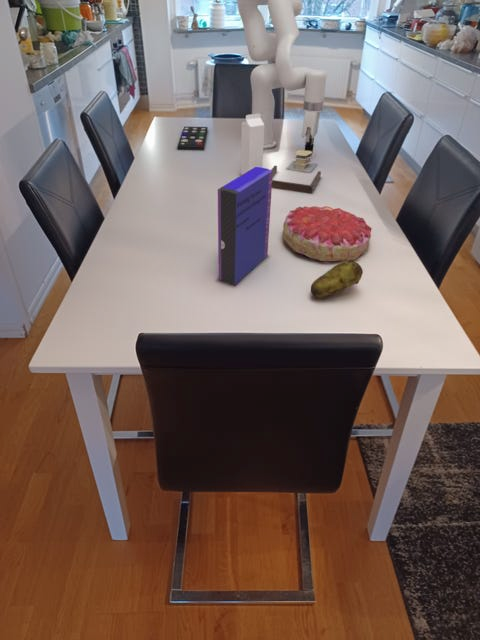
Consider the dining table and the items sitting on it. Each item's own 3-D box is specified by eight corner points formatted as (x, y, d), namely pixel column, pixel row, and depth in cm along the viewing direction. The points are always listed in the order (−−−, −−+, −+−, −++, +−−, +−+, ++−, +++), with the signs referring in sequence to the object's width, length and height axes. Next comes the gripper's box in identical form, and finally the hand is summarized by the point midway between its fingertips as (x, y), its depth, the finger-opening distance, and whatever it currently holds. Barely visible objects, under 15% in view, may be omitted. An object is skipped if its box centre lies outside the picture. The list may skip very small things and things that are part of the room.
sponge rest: (274, 171, 179) (274, 165, 178) (320, 178, 175) (321, 171, 173) (262, 186, 167) (263, 179, 166) (311, 193, 163) (312, 186, 161)
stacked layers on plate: (309, 172, 179) (311, 158, 176) (287, 169, 182) (288, 155, 178) (316, 164, 187) (318, 150, 183) (295, 161, 189) (296, 147, 186)
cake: (262, 238, 132) (266, 213, 127) (313, 216, 148) (318, 192, 143) (334, 276, 120) (341, 249, 115) (381, 247, 136) (389, 222, 131)
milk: (262, 177, 174) (265, 115, 161) (248, 180, 172) (250, 117, 158) (253, 172, 178) (256, 111, 165) (240, 174, 176) (241, 112, 163)
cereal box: (252, 251, 129) (255, 165, 114) (267, 256, 127) (272, 169, 112) (218, 280, 117) (217, 188, 102) (234, 285, 115) (236, 193, 100)
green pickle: (304, 284, 116) (307, 256, 111) (353, 282, 117) (359, 254, 112) (311, 303, 110) (315, 274, 105) (364, 301, 111) (370, 272, 106)
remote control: (177, 149, 198) (177, 145, 197) (184, 129, 222) (184, 125, 221) (203, 150, 198) (203, 145, 197) (207, 130, 222) (207, 125, 221)
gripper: (307, 101, 186) (303, 147, 197) (299, 109, 174) (295, 158, 185) (326, 102, 184) (320, 149, 195) (319, 111, 172) (314, 160, 184)
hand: (308, 153), depth 190 cm, fingers closed
